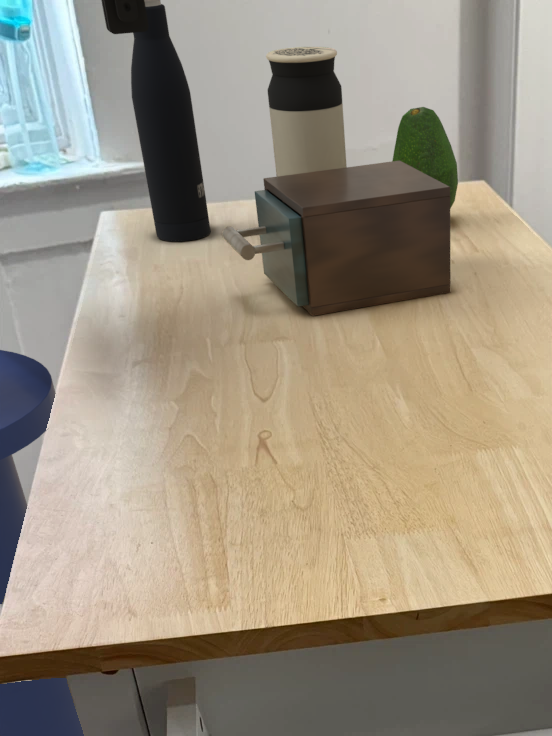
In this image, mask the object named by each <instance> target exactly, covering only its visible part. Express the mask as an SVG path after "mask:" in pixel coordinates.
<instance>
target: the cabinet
mask: <svg viewBox="0 0 552 736" xmlns="http://www.w3.org/2000/svg"><path fill="white" fill-rule="evenodd" d="M262 180H263V187H264V189H263V190H267V191H268V192H269V193H271V194H272V195H273V196H275V197H276V198H277V199H278V200H280V201H281V202H282V201H283V202H285V203H286V204H287V205H289V206H290V207H291V208H292V209H294V210H295V211H296V212H298V213H299V214H300V215H301V220H302V231H303V242H304V253H305V264H306V274H307V285H308V296H309V305H304V306H302V308H303V309H305V310H306V312H308V313H309V314H310V316H312V317H314V316H320V315H325V314H331V313H337V312H344V311H349V310H355V309H356V310H357V309H361V308H366V307H373V306H378V305H385V304H389V303H390V304H391V303H396V302H403V301H408V300H413V299H419V298H426V297H431V296H437V295H443V294H449V293H451V209H450V187H449V186H447V185H445V184H443V183H442V182H440V181H438V180H436V179H434V178H432V177H430V176H428V175H426V174H424V173H422V172H421V171H419V170H417V169H415V168H413V167H411V166H409V165H407V164H405V163H403V162H401V161H393V160H392V161H385V162H377V163H370V164H363V165H362V164H361V165H354V166H347V167H346V168H339V169H331V170H323V171H316V172H308V173H300V174H293V175H285V176H278V177H277V176H271V177H263V179H262Z"/></svg>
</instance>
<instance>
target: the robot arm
mask: <svg viewBox="0 0 552 736" xmlns="http://www.w3.org/2000/svg"><path fill="white" fill-rule="evenodd" d="M100 1H101V5H102V12H103V17H104V23H105V27H106V29H107V32H109V33H111V34H113V35H122V34H123V35H124V34H133V33H136V32H145V31H147V30H148V28H149V25H148V19H147V13H146V7H145V1H144V0H100Z"/></svg>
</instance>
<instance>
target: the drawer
mask: <svg viewBox="0 0 552 736" xmlns="http://www.w3.org/2000/svg"><path fill="white" fill-rule="evenodd" d="M254 199H255V207H256V215H257V217H256V218H257V225H258V226H255V227H247V228H241V229H235V228H234V226H230V225H228V226H225V227H224V228H223V229H222V231H221V236H222V238H223V240H224V241H225V242H226V243H227V244H228V245H229V246H230V247H231V248H232V249H233V250H234V251H235V252H236V253H237V254H238V255H239V256H240V257H241V258H242V259H243V260H245V261H251V260H253V259H254V257H255V256H256V255H257V254H261V258H262V268H263V274H264V276H265V277H267V278H268V279H269V280H270V281H271V283H273V285H274V286H276V287H277V288H278V289H279V290H280V291H281V292H282V293H283V294H284V295H285V296H286V297H287V298H288V299H289V300H290V301H291V303H293V304H294V305H296V307H303V306H304V305H309V296H308V285H307V274H306V264H305V253H304V242H303V231H302V220H301V215H300V214H299V213H298V212H296V211H295V210H294V209H292V208H291V207H290V206H289V205H287V204H286V203H285V202H283V201H282V202H281V201H280V200H278V199H277V198H276V197H275V196H273V195H272V194H271V193H269V192H268V191H267V190H265V189H263V190H262V189H261V190H260V189H259V190H255V191H254ZM254 236H259V241H260V244H256V245H252V244H251V243H250V242H249V241H248V240H247V239H246V238H247V237H254Z"/></svg>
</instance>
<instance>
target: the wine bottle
mask: <svg viewBox="0 0 552 736" xmlns="http://www.w3.org/2000/svg"><path fill="white" fill-rule="evenodd" d="M144 1H145V7H146V13H147V19H148V25H149V28H148V30H147V31H145V32H136V33H132V35H133V45H132V46H133V47H132V56H131V66H130V85H131V88H130V90H131V100H132V106H133V111H134V118H135V122H136V128H137V135H138V139H139V145H140V151H141V156H142V162H143V168H144V173H145V179H146V184H147V189H148V195H149V199H150V205H151V206H150V207H151V211H152V217H153V218H152V219H153V223H154V228H155V235H156V238H158V240H161V241H164V242H171V243H173V242H176V243H182V242H190V241H196V240H200V239H203V238H206V237H207V236H209V235H210V234H211V233H212V232H211V224H210V218H209V211H208V205H207V197H206V190H205V182H204V176H203V170H202V169H203V168H202V163H201V156H200V150H199V142H198V136H197V135H198V134H197V129H196V122H195V117H194V115H195V114H194V109H193V101H192V94H191V90H190V86H189V83H188V78H187V76H186V73H185V69H184V66H183V64H182V61H181V59H180V57H179V55H178V52H177V50H176V47H175V45H174V43H173V40H172V39H171V36H170V30H169V25H168V18H167V11H166V6H165V5H164V4H163V3H161V0H144Z"/></svg>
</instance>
